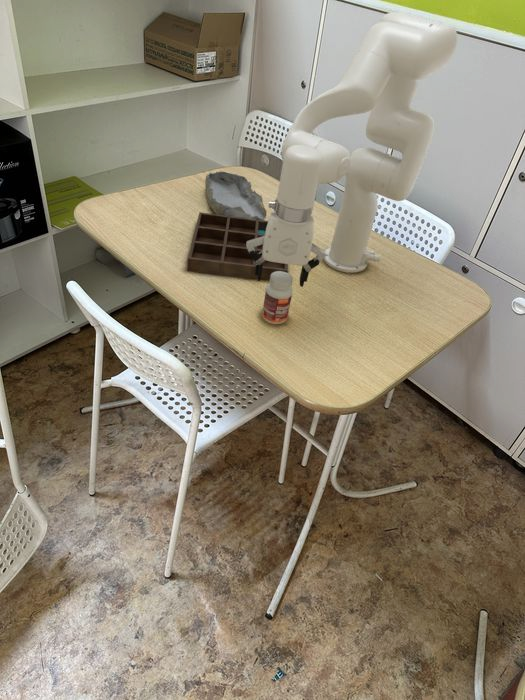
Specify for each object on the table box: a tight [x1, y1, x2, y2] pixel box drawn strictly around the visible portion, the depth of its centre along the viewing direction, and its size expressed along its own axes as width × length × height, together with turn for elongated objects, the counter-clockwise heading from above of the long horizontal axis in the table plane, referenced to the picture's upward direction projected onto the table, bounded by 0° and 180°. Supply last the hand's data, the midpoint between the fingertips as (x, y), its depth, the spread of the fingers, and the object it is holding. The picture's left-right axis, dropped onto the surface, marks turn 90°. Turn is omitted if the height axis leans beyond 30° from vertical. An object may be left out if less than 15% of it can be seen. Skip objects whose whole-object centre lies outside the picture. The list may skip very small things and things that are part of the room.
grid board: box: [186, 211, 289, 282], centre depth 143 cm, size 26×26×4 cm
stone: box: [204, 170, 267, 221], centre depth 162 cm, size 14×8×30 cm
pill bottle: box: [261, 271, 293, 325], centre depth 121 cm, size 6×6×11 cm
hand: (280, 280), depth 117 cm, fingers open, 9 cm apart
